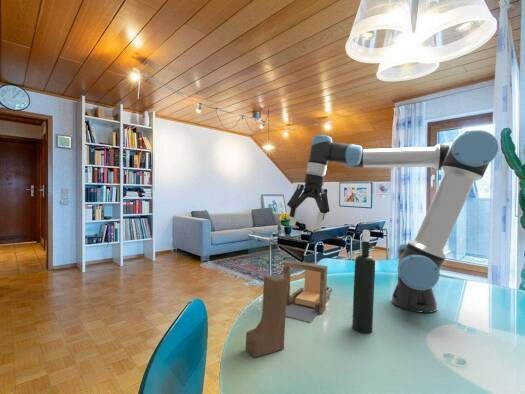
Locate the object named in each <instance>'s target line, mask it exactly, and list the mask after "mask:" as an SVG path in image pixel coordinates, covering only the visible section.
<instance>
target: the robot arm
mask: <svg viewBox="0 0 525 394" xmlns="http://www.w3.org/2000/svg"><path fill="white" fill-rule="evenodd" d="M498 152H499V142H498V140H497V139H496V137H495V135H494V134H492V133H491V132H489V131H486V130H484V129H479V128H477V129H476V128H475V129H474V128H473V129H469V130H465V131H463V132H461V133H459V134H457V136H455V138H454V139H453V140H452V142H445V143H437V144H436V145H435V146H423V147H420V146H419V147H396V148H364V149H363V147H362V145H358V144H354V143H342V142H340V143H339V142H335V141H333V138H332V137H331V136H329V135H325V134H316V135H314V136H313V138H312V142H311V145H310V150H309V157H308V162H307V167H306V174H305V177H304V184H302V183H298V184H297V187H296V189H295V191H293V192H294V193H293V194H292V196H291V197H290V199H289V201H288V202H287V204H286V206H287V207H289V209H290V212H289V223H288V225H289V226H292V227H295V226H296V222H297V218H298V217H297V216H298V212H299V210H298V208H299V207H300V205H302V203H303V202H304V201H305V200H306V199H308V198H310V199H314V200H315V203H316V205H317V207H318V210H319V211H318V212H317V216H316V222H315V224H314V225H315V228H316V229H322V225H323V221H324V219H325V214H327V213H329V212H330V206H329V200H328V189H327V188H322V187H323V186H324V183H325V177H324V176H326V174H327V173H326V172H327V169H328V168H327V167H328V162H329V163H330V162H331V163H337V164H341V165H343V166H344V167H345V168H347V169H351V170H354V169H356V168H357V169H359V168H434V169H435V170H436V171H442V172H443V175H442V177H441V180H440V181H439V184H438V186H437V188H436V190H435V193H434V196H433V198H432V201H431V202H430V205H429V207H428V210H427V212H426V213H425V216H424V218H423V220H422V222H421V225H420V227H419V230H418V231H417V234H416V236H415V238H414V239H413V240H409V241H408V242H407V244H406V243H401V244H400V245H399V247H398V252H397V253H398V261H397V262H398V265H397V283H396V286H395V287H394V290H393V292H392V295H391V302H393V303H394V304H393V303H392V304H393V305H395V304H396V305H397V306H396V305H395V306H396V307H398V306H399V307H398V308H401V307H402V308H401V309H403V308H404V309H403V310H406V309H407V310H406V311H410V310H412V312H415V311H422V312H430V311H434V310H436V309H438V307H437V306H438V304H437V299H436V297H435V295H434V294H435V293H434V291H433V288H434V287H435V286H436V285H437V283H438V282H439V279H440V273H441V272H440V270H441V268H442V266H443V264H444V261H445V260H446V254H445V253H444V249H445V246H446V244H447V242H448V240H449V238H450V235H451V233H452V231H453V229H454V227H455V224H456V223H457V221H458V218H459V216H460V214H461V212H462V209H463V207H464V204H465V203H466V201H467V198H468V196H469V195H470V192H471V190H472V188H473V185H474V183H475V182H477V181H481V179H483V178H484V176H485V173H486V171H487V169H488V166H489V164H490V163H491V162H492V161H494V159H495V158H496V156H497V154H498ZM436 311H437V310H436ZM422 312H421V313H422Z"/></svg>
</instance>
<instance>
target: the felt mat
mask: <svg viewBox="0 0 525 394" xmlns="http://www.w3.org/2000/svg"><path fill="white" fill-rule="evenodd" d="M318 314H320V313H319V312H315V308H313V307H308V306H307V307H306V306H304V305H302V306H301V305H299V304H294V303H293V304H290V305H289V306H288V305H286V314H285V318H290V319H293V320H297V321H300V322H305V323H308V324H309V323H310V324H311V323H312V321H314V319H315V318H316V317H317V316H318Z"/></svg>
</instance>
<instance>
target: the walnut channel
mask: <svg viewBox="0 0 525 394" xmlns="http://www.w3.org/2000/svg"><path fill="white" fill-rule="evenodd" d="M291 269H297V270H299V269H300V270H304V271H305V270H311V271H317V272H321V277H320V300H319V301H318V302H317V303H316V304H315V307H314V309H315V312H319V313H318V314H321V315H324V313H325V311H326V309H327V308H326V307H327V306H326V305H327V303H328V302H329V300H330V299H331V298H330V293H331V292H330V293H326V287H328V286H327V283H328V282H327V281H328V280H327V278H328V265H324V264H323V265H322V264H317V263H315V264H314V263H310V262H303V261H302V262H301V261H297V260H296V261H295V260H291V259H290V260H286V261H284V262H283V276H282V277H284V278H286V279H287V292H286V305H288V306H289V305H290V304H294V303H295V298H296V297H297V296H298V295H299V294H301V293H302V292H303V291H304V287H300V288H299V289H297V290H296V291H294V292H293V293H292V294H291V293H290V292H291V291H290V290H291V272H292V270H291Z"/></svg>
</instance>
